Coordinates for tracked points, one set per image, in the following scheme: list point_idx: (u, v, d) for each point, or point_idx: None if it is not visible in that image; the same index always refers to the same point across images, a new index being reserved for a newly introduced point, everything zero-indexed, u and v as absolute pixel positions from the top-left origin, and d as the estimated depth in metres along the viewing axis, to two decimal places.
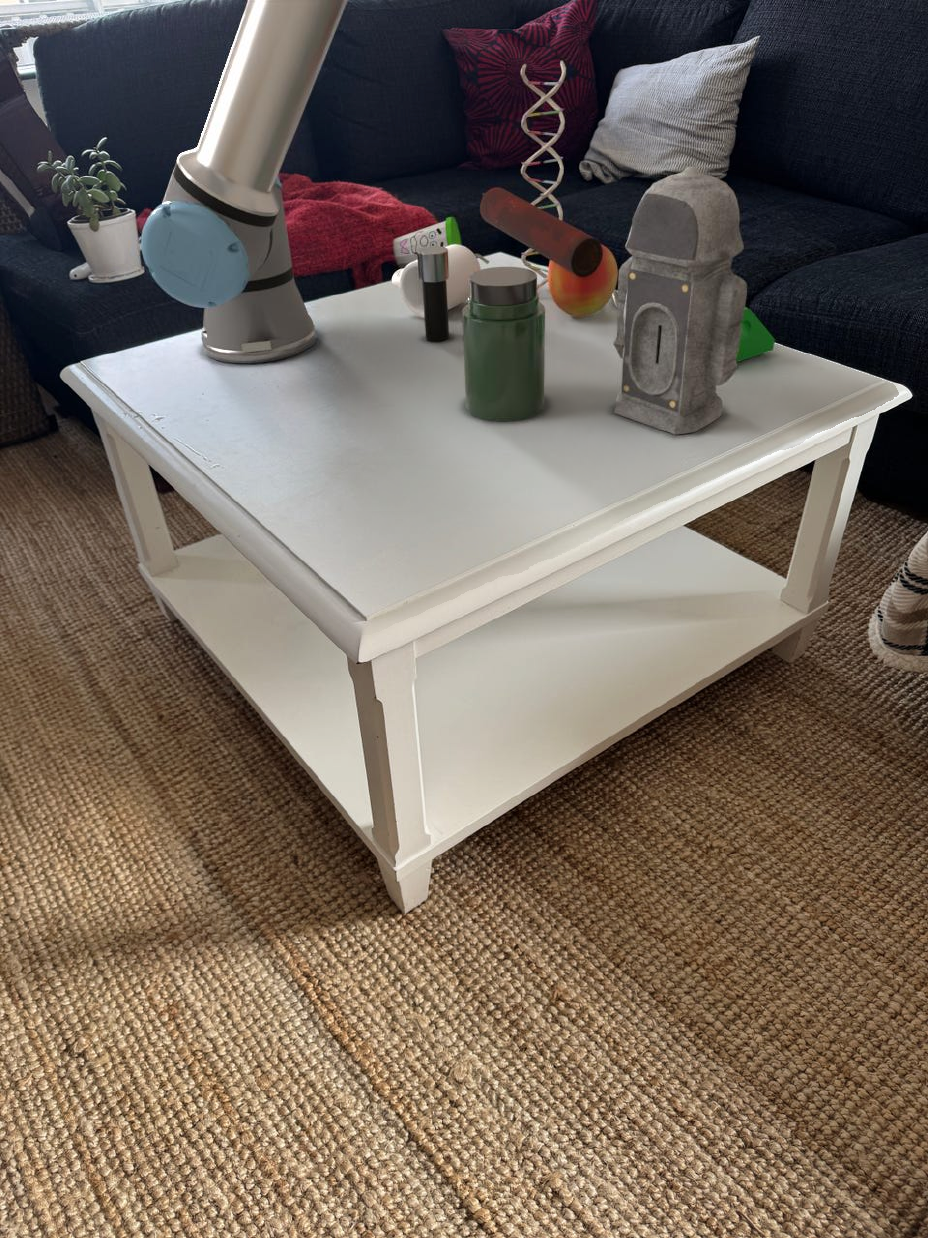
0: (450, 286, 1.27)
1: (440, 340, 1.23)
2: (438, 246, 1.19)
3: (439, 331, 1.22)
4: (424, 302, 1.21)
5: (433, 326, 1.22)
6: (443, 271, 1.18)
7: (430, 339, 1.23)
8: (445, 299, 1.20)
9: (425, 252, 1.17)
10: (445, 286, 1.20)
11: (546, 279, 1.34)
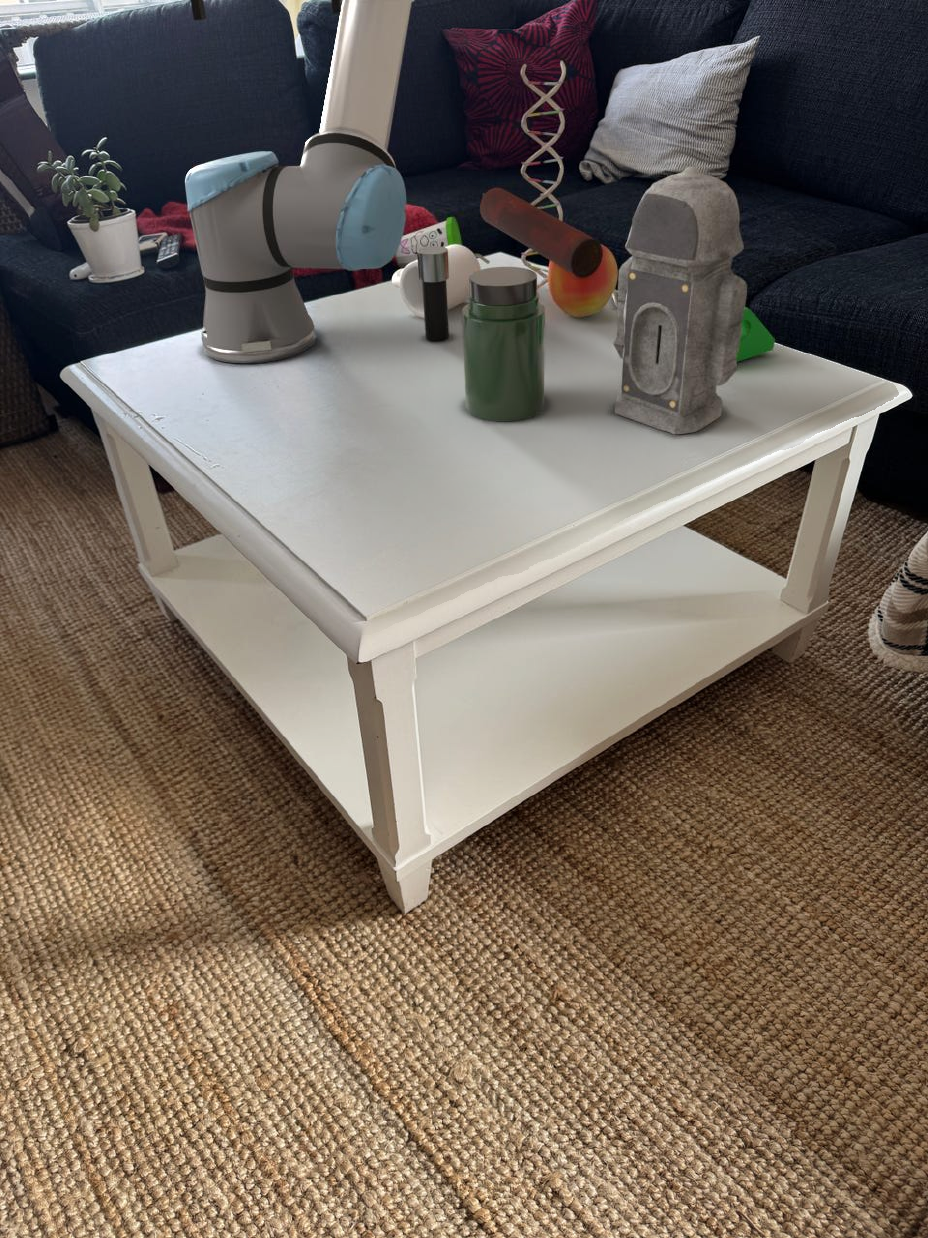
0: (450, 286, 1.27)
1: (440, 340, 1.23)
2: (438, 246, 1.19)
3: (439, 331, 1.22)
4: (424, 302, 1.21)
5: (433, 326, 1.22)
6: (443, 271, 1.18)
7: (430, 339, 1.23)
8: (445, 299, 1.20)
9: (425, 252, 1.17)
10: (445, 286, 1.20)
11: (546, 279, 1.34)
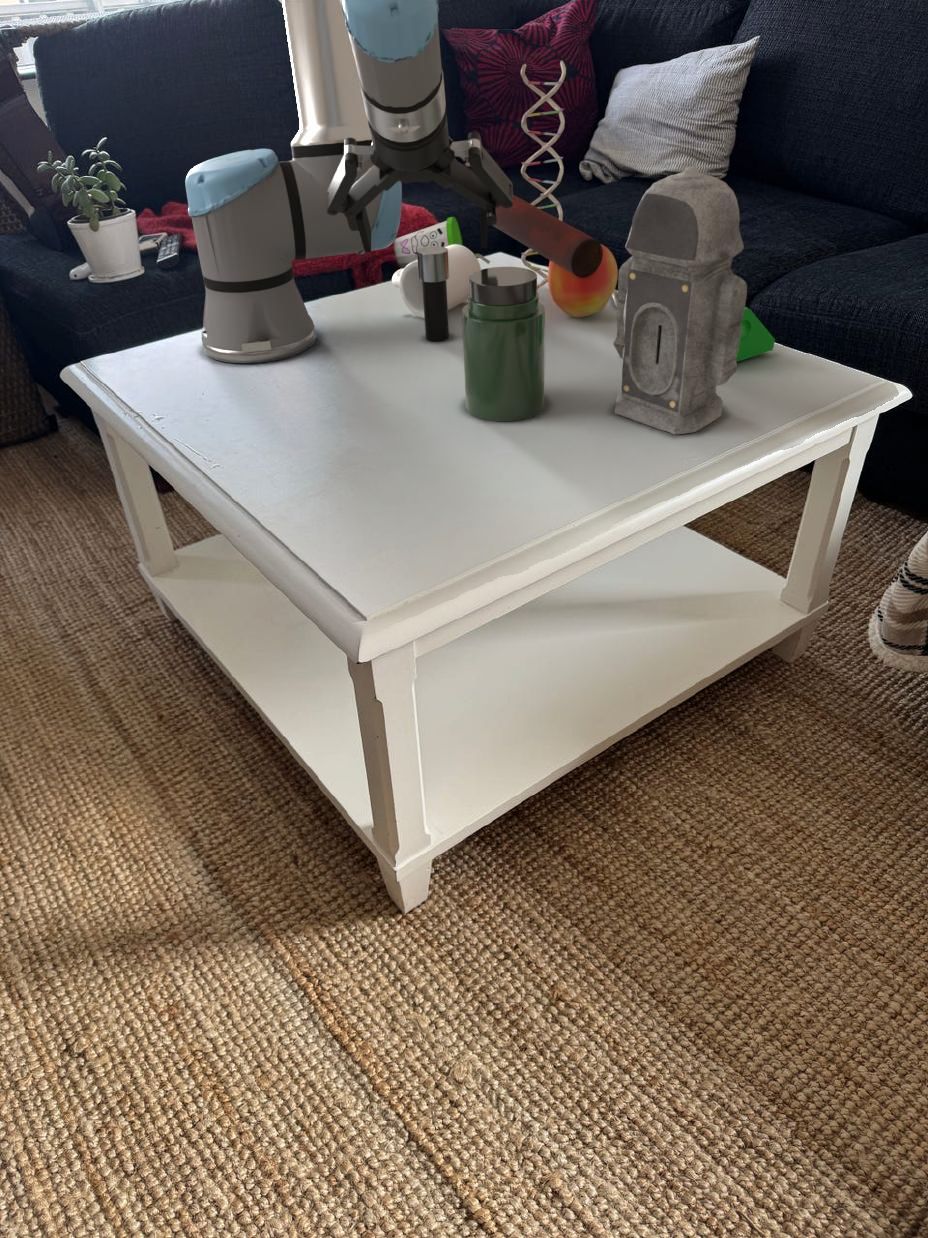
0: (450, 286, 1.27)
1: (440, 340, 1.23)
2: (438, 246, 1.19)
3: (439, 331, 1.22)
4: (424, 302, 1.21)
5: (433, 326, 1.22)
6: (443, 271, 1.18)
7: (430, 339, 1.23)
8: (445, 299, 1.20)
9: (425, 252, 1.17)
10: (445, 286, 1.20)
11: (546, 279, 1.34)
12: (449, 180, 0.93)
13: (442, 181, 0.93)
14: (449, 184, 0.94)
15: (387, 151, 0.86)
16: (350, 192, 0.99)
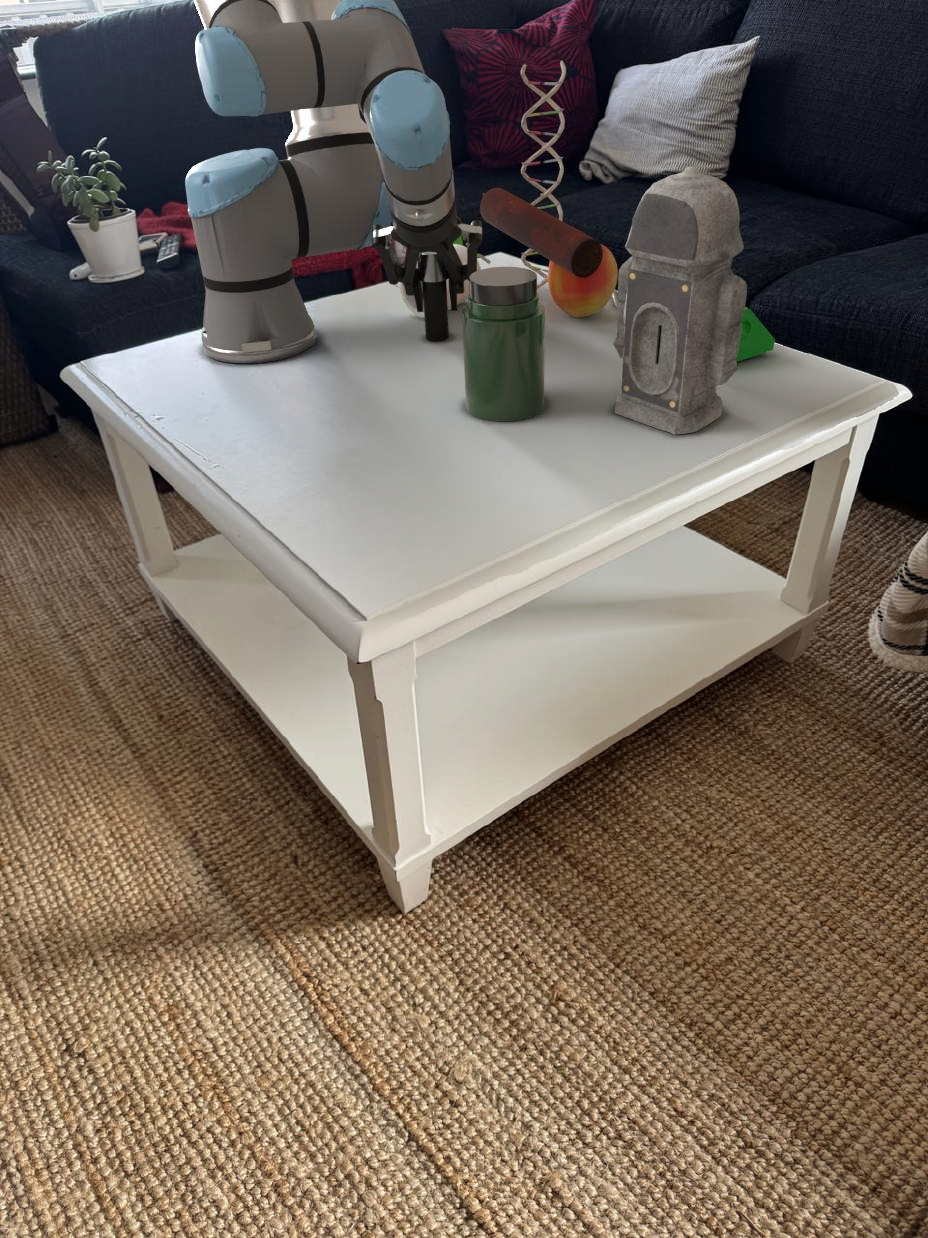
0: None
1: (440, 340, 1.23)
2: None
3: (439, 331, 1.22)
4: (424, 302, 1.21)
5: (433, 326, 1.22)
6: (443, 271, 1.18)
7: (430, 339, 1.23)
8: (445, 299, 1.20)
9: (425, 252, 1.17)
10: (445, 286, 1.20)
11: (546, 279, 1.34)
12: (448, 255, 1.11)
13: (442, 254, 1.10)
14: (446, 258, 1.11)
15: (405, 232, 1.03)
16: None
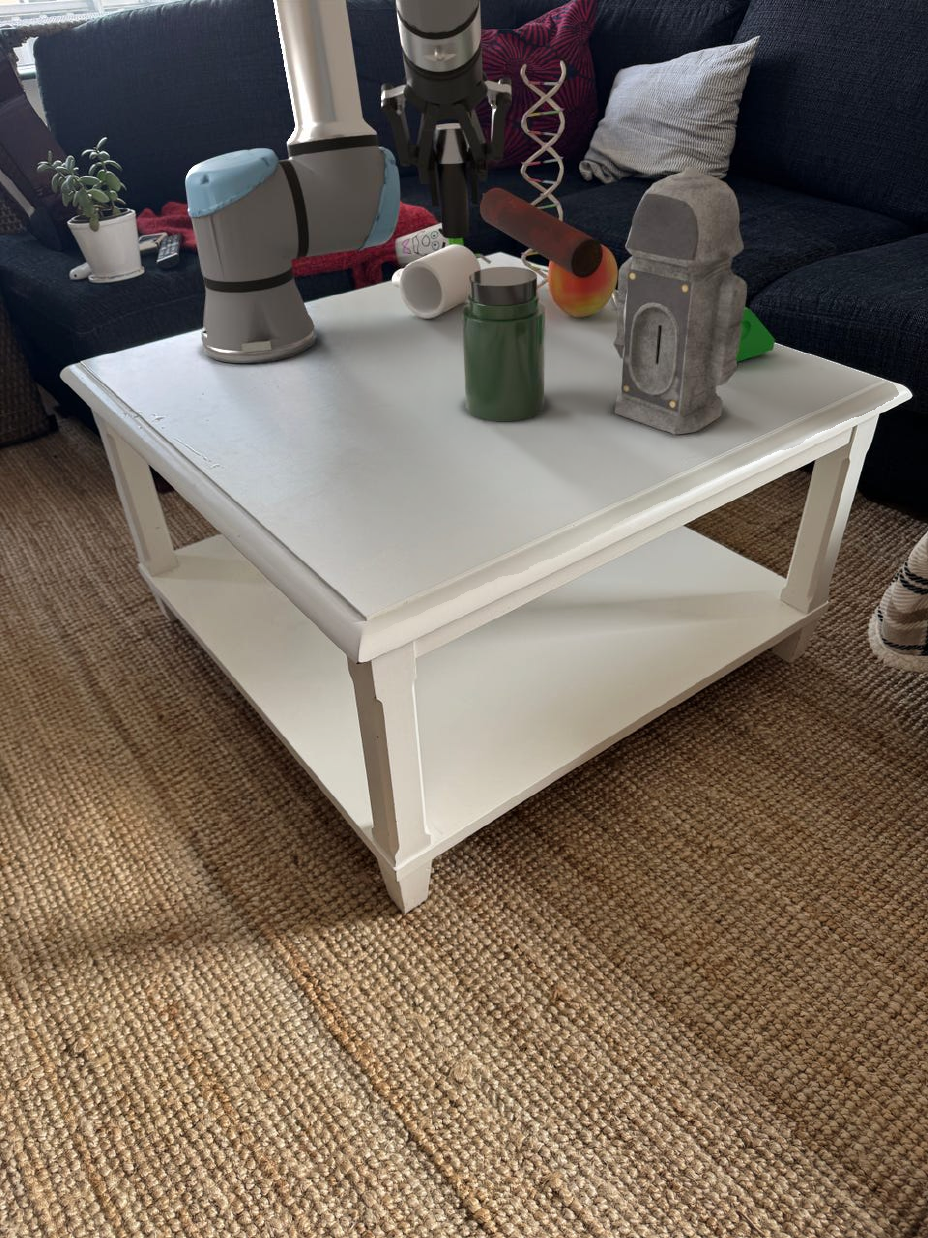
0: (450, 286, 1.27)
1: (459, 236, 1.06)
2: (457, 123, 1.02)
3: (458, 225, 1.05)
4: (441, 190, 1.04)
5: (451, 219, 1.05)
6: (464, 150, 1.01)
7: (447, 235, 1.06)
8: (465, 186, 1.04)
9: (443, 127, 1.00)
10: (465, 170, 1.03)
11: (546, 279, 1.34)
12: (471, 123, 0.94)
13: (464, 121, 0.94)
14: (468, 126, 0.94)
15: (422, 82, 0.86)
16: (418, 144, 1.00)
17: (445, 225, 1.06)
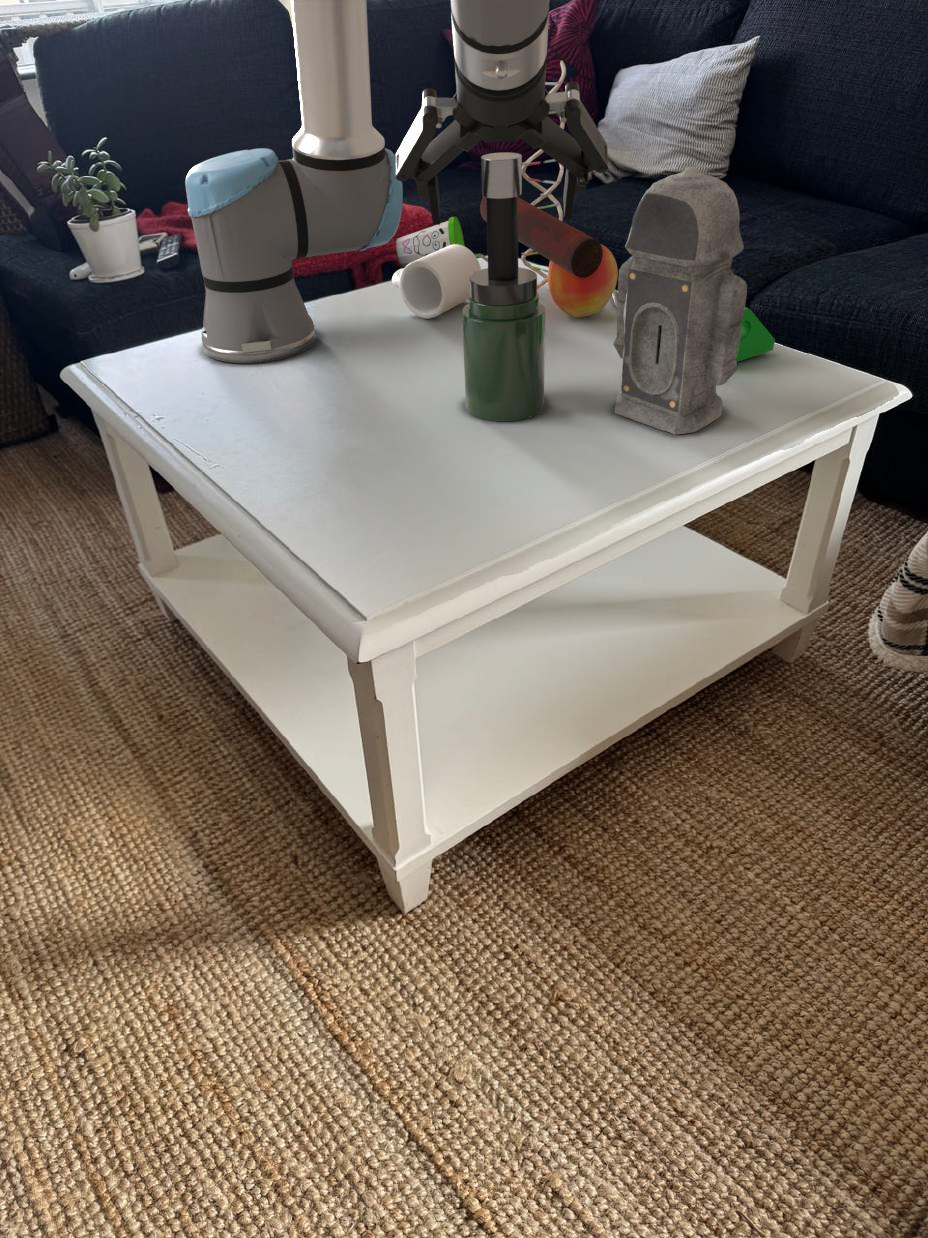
0: (450, 286, 1.27)
1: (507, 278, 0.95)
2: None
3: (506, 266, 0.94)
4: (488, 227, 0.93)
5: (499, 259, 0.94)
6: (516, 183, 0.90)
7: (494, 277, 0.95)
8: (516, 223, 0.92)
9: (492, 158, 0.89)
10: (516, 205, 0.92)
11: (546, 279, 1.34)
12: (541, 139, 0.81)
13: (533, 140, 0.81)
14: (540, 144, 0.82)
15: (477, 102, 0.75)
16: (422, 154, 0.87)
17: (492, 265, 0.95)
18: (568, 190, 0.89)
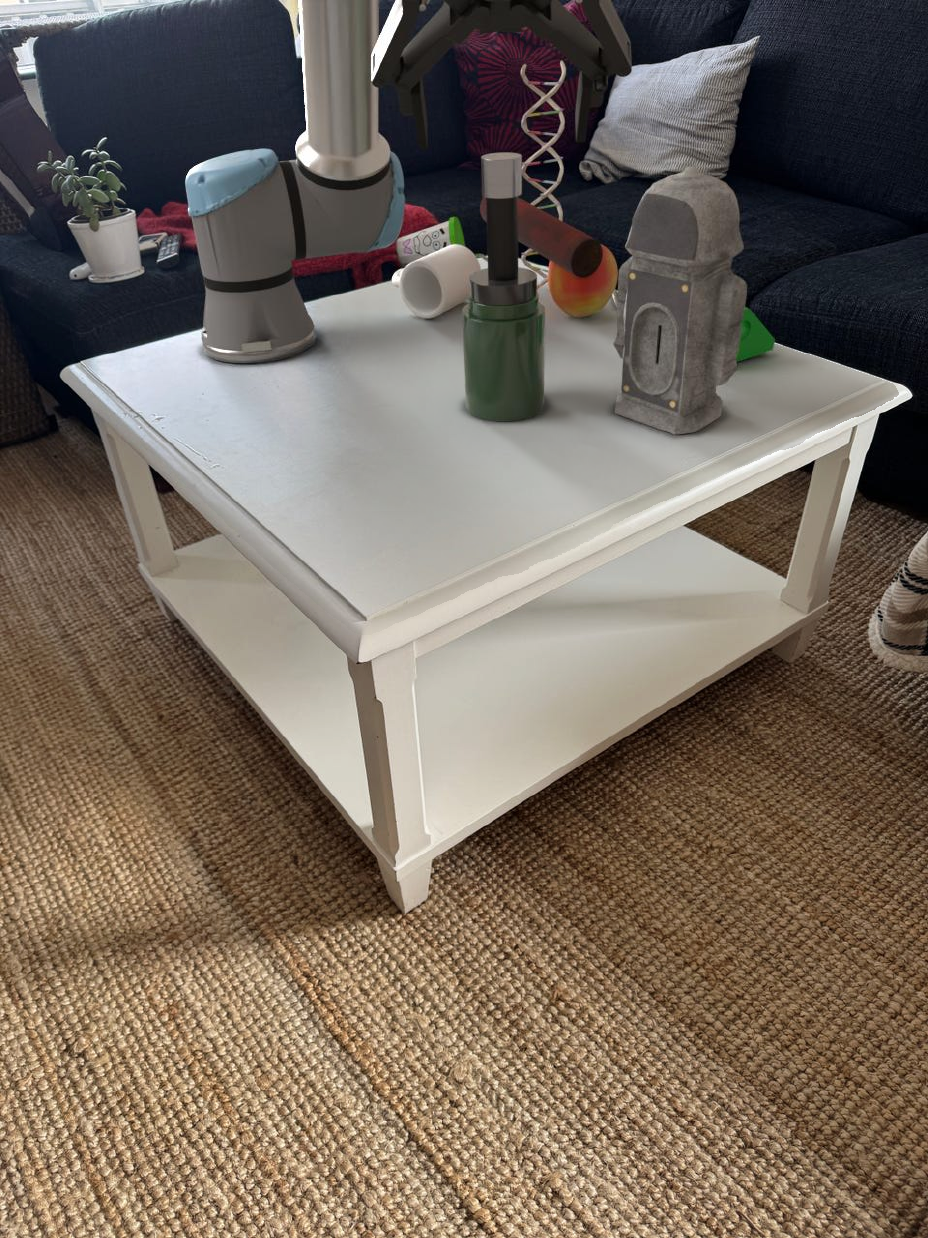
0: (450, 286, 1.27)
1: (507, 278, 0.95)
2: None
3: (506, 266, 0.94)
4: (488, 227, 0.93)
5: (499, 259, 0.94)
6: (516, 183, 0.90)
7: (494, 277, 0.95)
8: (516, 223, 0.92)
9: (492, 158, 0.89)
10: (516, 205, 0.92)
11: (546, 279, 1.34)
12: (550, 26, 0.66)
13: (540, 28, 0.66)
14: (549, 33, 0.66)
15: None
16: (404, 54, 0.71)
17: (492, 265, 0.95)
18: (582, 101, 0.73)
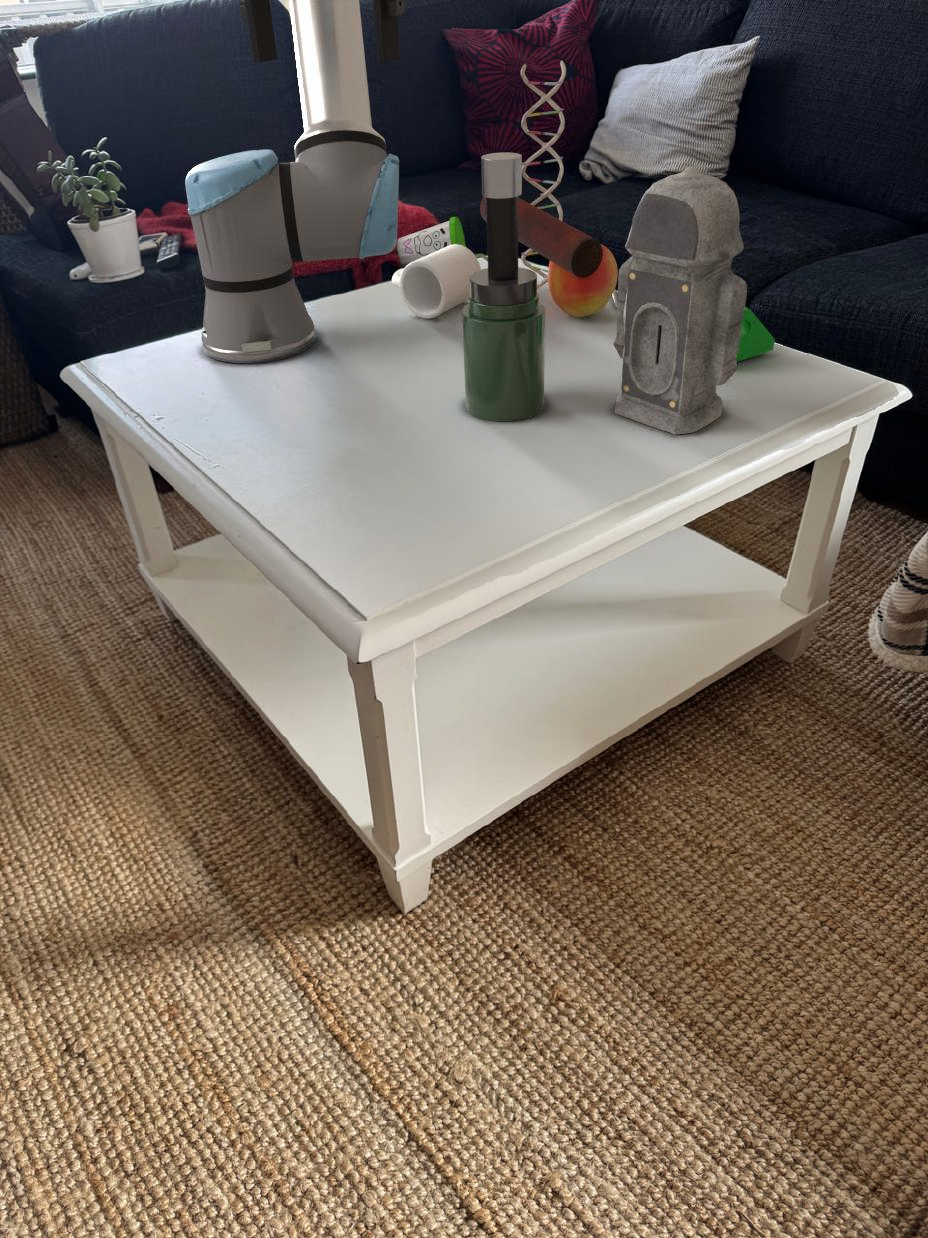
0: (450, 286, 1.27)
1: (507, 278, 0.95)
2: None
3: (506, 266, 0.94)
4: (488, 227, 0.93)
5: (499, 259, 0.94)
6: (516, 183, 0.90)
7: (494, 277, 0.95)
8: (516, 223, 0.92)
9: (492, 158, 0.89)
10: (516, 205, 0.92)
11: (546, 279, 1.34)
12: None
13: None
14: None
15: None
16: None
17: (492, 265, 0.95)
18: None
